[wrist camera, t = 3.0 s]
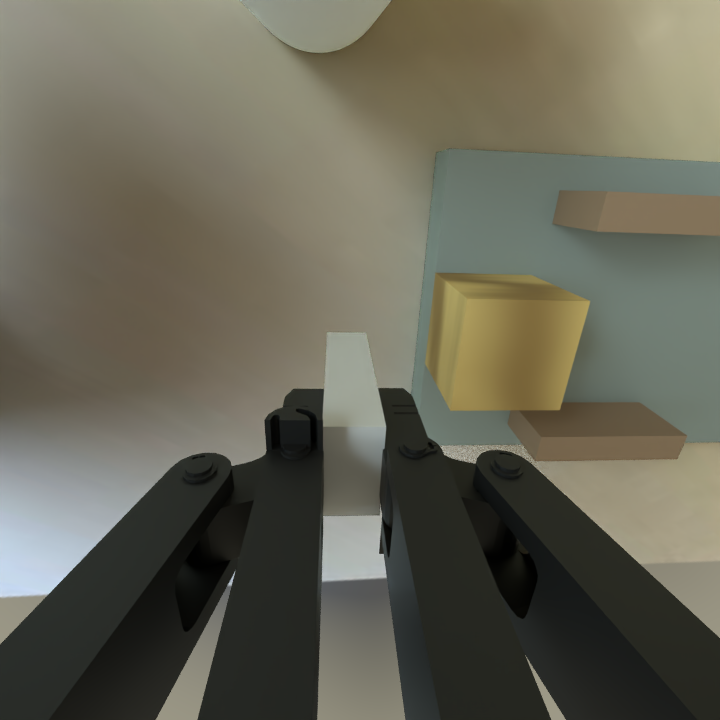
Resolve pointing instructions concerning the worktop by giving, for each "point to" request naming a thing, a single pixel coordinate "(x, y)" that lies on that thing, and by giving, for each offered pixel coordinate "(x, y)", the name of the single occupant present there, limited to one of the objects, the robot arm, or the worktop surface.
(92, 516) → the worktop surface
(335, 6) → the cup
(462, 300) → the ochre block
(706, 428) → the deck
